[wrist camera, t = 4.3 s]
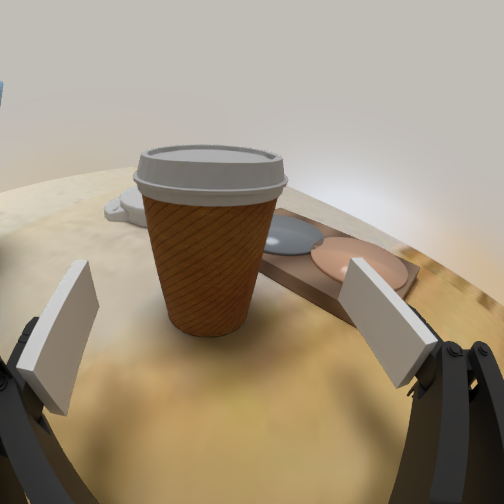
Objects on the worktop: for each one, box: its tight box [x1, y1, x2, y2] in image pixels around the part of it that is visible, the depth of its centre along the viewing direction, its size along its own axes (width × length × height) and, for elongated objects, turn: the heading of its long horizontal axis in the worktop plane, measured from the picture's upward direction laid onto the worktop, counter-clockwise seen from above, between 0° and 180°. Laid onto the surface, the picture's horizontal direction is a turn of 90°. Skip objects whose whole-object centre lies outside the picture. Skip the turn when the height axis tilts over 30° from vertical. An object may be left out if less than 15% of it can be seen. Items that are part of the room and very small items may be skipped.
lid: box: [104, 186, 148, 227], centre depth 40 cm, size 17×20×3 cm
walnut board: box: [259, 208, 420, 328], centre depth 30 cm, size 22×14×2 cm, turn 45°
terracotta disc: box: [310, 237, 408, 291], centre depth 27 cm, size 11×11×1 cm
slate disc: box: [263, 214, 324, 256], centre depth 32 cm, size 11×11×1 cm
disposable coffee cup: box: [133, 145, 288, 337], centre depth 18 cm, size 10×10×12 cm
